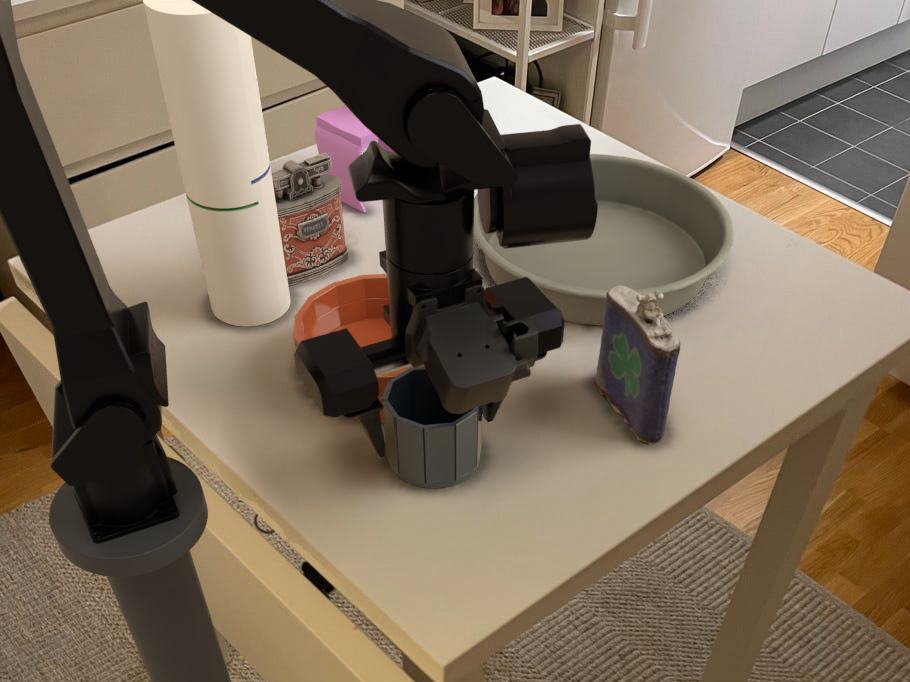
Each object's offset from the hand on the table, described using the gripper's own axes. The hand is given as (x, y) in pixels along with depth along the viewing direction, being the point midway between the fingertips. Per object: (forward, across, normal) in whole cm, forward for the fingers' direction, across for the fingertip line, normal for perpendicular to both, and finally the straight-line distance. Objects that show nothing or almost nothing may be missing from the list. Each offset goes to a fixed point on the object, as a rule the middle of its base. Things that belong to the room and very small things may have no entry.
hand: (434, 436), depth 77 cm
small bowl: (+2, 0, 0) cm, 2 cm away
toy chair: (+2, +12, +40) cm, 42 cm away
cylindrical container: (+2, -6, +26) cm, 27 cm away
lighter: (+2, +1, +29) cm, 29 cm away
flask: (+2, +17, -2) cm, 17 cm away
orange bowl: (+2, +1, +12) cm, 12 cm away
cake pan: (+2, +26, +18) cm, 32 cm away
